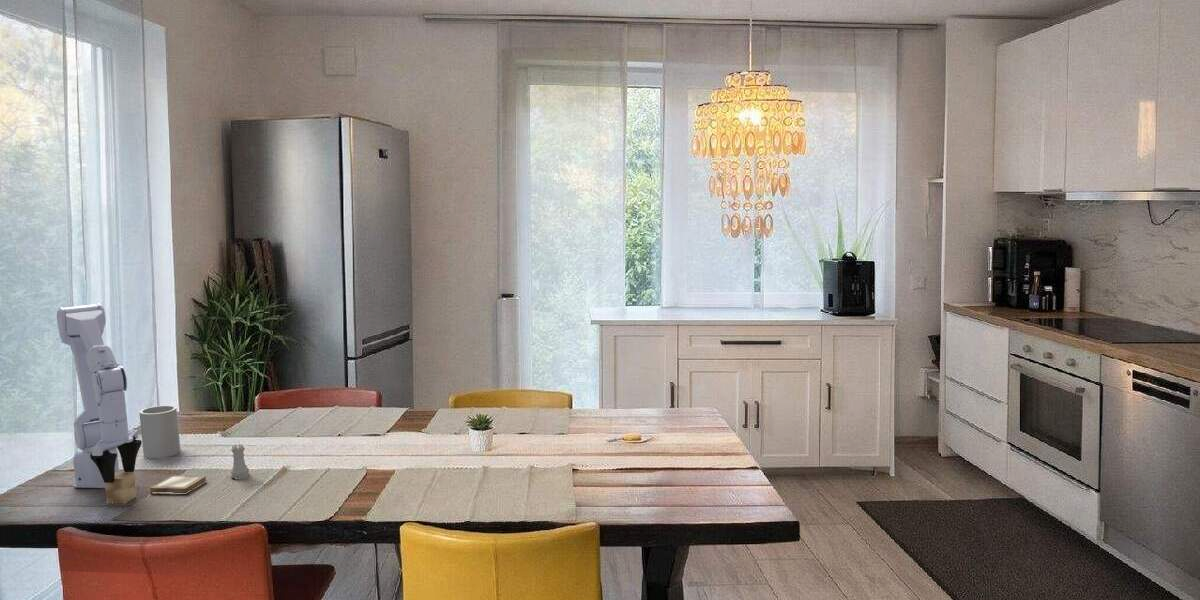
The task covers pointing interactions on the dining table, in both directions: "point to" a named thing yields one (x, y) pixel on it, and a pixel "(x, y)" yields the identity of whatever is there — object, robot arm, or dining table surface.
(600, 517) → the dining table surface
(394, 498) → the dining table surface
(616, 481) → the dining table surface
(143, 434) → the cup
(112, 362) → the robot arm
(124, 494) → the oak block
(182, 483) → the picture frame
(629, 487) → the dining table surface
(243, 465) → the rook chess piece
